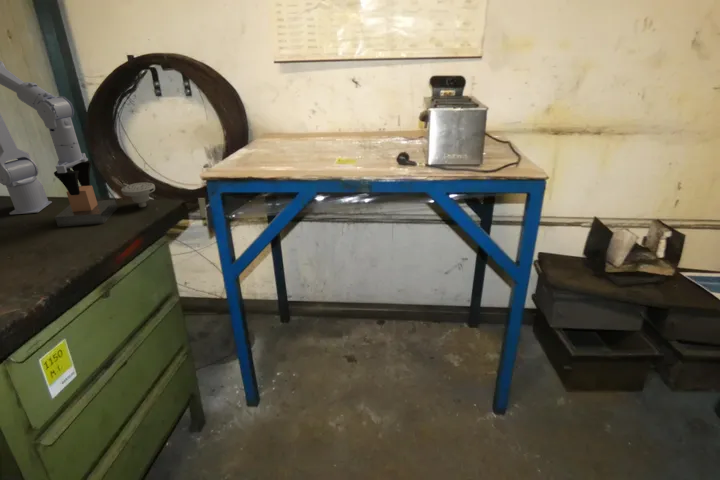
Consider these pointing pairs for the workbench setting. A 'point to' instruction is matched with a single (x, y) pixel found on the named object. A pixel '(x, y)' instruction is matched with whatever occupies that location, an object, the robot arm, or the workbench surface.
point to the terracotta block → (83, 199)
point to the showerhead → (138, 192)
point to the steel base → (87, 214)
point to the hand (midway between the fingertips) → (80, 190)
